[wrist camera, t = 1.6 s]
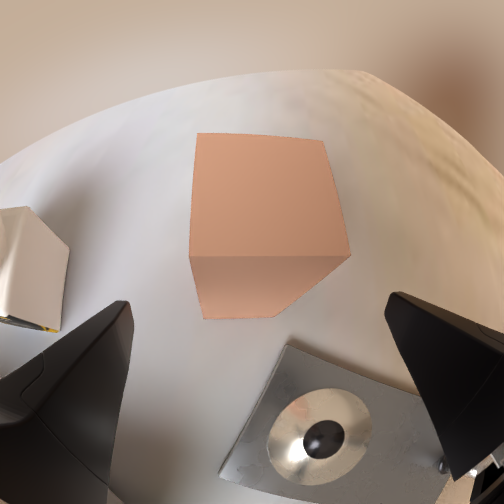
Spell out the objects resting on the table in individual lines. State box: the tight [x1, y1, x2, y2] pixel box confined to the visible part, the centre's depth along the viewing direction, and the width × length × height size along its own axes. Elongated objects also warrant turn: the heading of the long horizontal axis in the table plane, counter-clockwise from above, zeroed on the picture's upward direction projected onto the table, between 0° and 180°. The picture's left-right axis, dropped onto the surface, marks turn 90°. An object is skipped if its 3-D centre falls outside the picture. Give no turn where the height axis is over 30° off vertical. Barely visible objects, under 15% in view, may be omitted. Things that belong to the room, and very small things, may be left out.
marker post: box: [189, 133, 351, 319], centre depth 14 cm, size 5×5×12 cm
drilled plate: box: [218, 345, 451, 504], centre depth 15 cm, size 11×23×1 cm, turn 64°
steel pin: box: [442, 455, 493, 479], centre depth 12 cm, size 2×2×6 cm
